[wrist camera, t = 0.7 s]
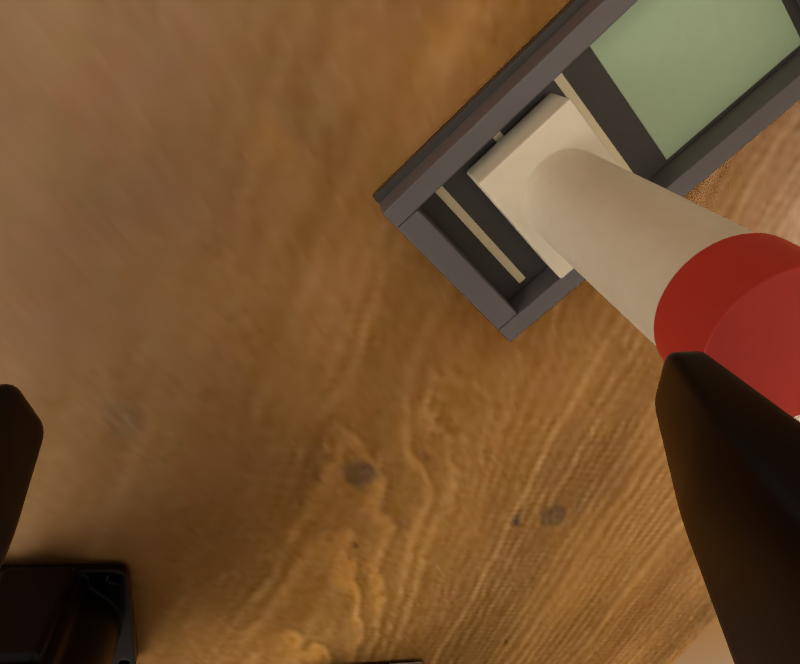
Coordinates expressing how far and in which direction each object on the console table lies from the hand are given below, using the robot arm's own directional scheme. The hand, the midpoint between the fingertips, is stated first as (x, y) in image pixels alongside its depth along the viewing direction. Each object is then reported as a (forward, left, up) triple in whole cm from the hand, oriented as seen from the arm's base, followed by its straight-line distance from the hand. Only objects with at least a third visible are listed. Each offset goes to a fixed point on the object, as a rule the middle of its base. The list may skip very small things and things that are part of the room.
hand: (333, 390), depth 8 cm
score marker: (+1, -7, -13) cm, 15 cm away
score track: (+3, -9, -13) cm, 16 cm away
